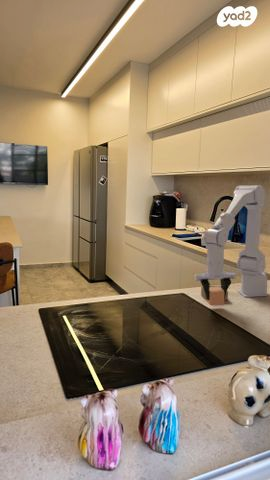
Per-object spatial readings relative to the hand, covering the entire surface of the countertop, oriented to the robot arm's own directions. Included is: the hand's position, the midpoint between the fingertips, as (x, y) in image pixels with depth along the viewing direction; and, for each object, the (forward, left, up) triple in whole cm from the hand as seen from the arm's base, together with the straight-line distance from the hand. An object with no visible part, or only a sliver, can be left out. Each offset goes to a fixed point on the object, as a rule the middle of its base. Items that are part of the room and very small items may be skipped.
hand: (215, 298), depth 119 cm
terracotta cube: (0, 0, -2) cm, 2 cm away
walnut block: (-3, -11, -4) cm, 12 cm away
